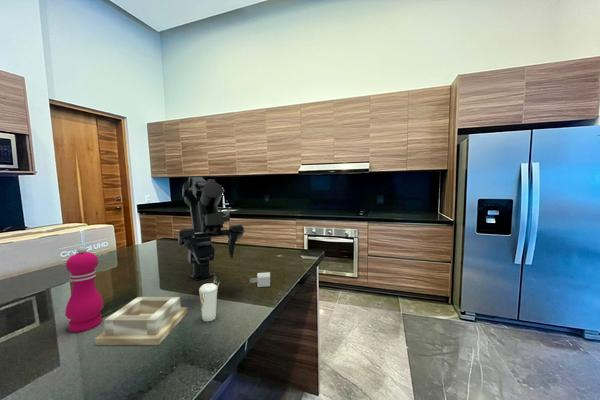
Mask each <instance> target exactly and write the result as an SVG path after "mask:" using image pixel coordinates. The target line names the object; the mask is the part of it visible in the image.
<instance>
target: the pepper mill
mask: <svg viewBox="0 0 600 400" xmlns="http://www.w3.org/2000/svg"><path fill="white" fill-rule="evenodd" d="M76 252H77V253H75V254H73V255H71V256H70V257H68V259H67V260H66V263H65V266H66V267H65V268H66V270H67V271H68V272H69V273H70V274H69V281H70V282H71V284H72V292H71V295H70V297H69V299H68V302H67V303H66V307H65V311H64V312H65V317H66V318H67V319H69V321H68V330H69V332H72V333H80V332H85V331H88V330H91V329H93V328H96V327H97V326H99V325H100V324H101V323H102V321H103V319H102V313H101V311H102V310H103V308H104V300H103V297H102V296H101V294H100V292H99V291H98V289H97V288H96V283H95V277H96V276H97V270H96V267H98V265H99V258H98V257H97V255H96V254H95V253H93V252H88V250H87V247H85V246H79V247H78V248H77V250H76Z"/></svg>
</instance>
